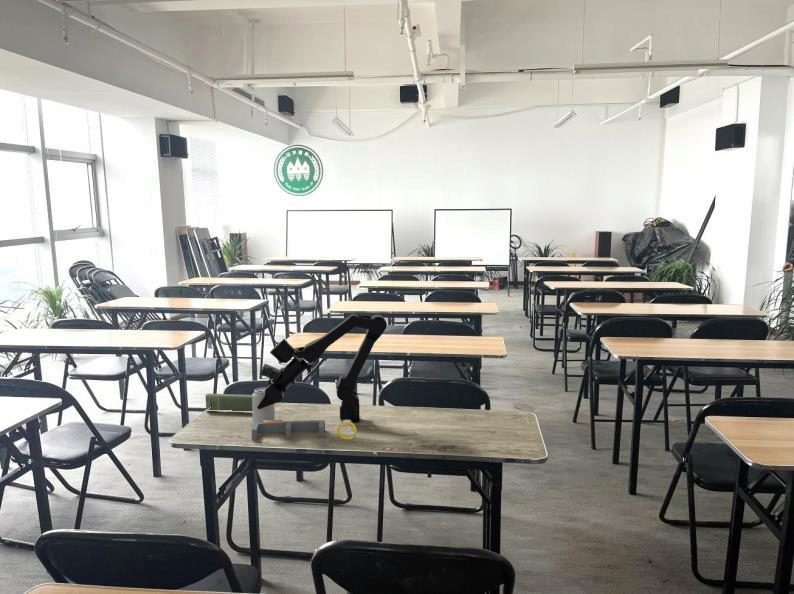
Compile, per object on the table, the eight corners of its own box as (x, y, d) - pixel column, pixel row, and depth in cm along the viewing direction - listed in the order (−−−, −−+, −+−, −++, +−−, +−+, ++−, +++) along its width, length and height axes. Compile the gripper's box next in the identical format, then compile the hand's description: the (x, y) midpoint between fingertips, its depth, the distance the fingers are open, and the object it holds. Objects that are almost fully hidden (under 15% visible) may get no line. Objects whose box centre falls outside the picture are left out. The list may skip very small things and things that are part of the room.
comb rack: (324, 429, 193) (324, 418, 193) (325, 437, 186) (324, 424, 186) (254, 432, 190) (254, 420, 190) (251, 440, 183) (251, 427, 183)
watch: (337, 440, 184) (335, 422, 184) (340, 437, 187) (338, 419, 187) (355, 440, 183) (353, 422, 183) (357, 437, 186) (356, 419, 185)
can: (250, 421, 202) (249, 388, 201) (271, 418, 205) (271, 385, 204) (255, 427, 195) (254, 393, 194) (277, 424, 199) (276, 390, 198)
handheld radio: (209, 409, 216) (273, 412, 213) (205, 412, 213) (271, 415, 210) (208, 392, 215) (273, 394, 212) (204, 395, 212) (270, 397, 209)
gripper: (276, 351, 208) (245, 382, 207) (271, 362, 189) (238, 396, 189) (298, 372, 209) (268, 402, 209) (296, 385, 191) (263, 418, 191)
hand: (259, 404), depth 199 cm, fingers open, 9 cm apart
